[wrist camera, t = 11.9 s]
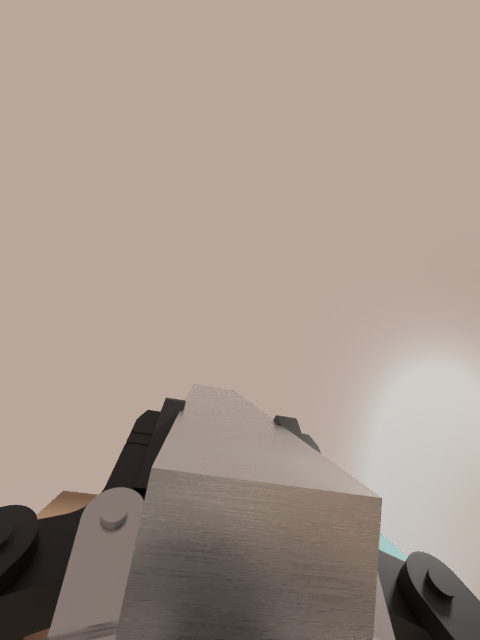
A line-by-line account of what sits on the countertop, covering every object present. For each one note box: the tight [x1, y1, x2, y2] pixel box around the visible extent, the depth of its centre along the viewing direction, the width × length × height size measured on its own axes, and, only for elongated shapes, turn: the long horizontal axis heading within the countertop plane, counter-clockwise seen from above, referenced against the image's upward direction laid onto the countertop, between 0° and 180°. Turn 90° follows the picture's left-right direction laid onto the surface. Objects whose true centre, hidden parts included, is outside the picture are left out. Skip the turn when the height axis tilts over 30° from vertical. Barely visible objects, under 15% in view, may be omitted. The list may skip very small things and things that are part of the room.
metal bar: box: [115, 384, 382, 640], centre depth 13 cm, size 20×4×4 cm, turn 8°
